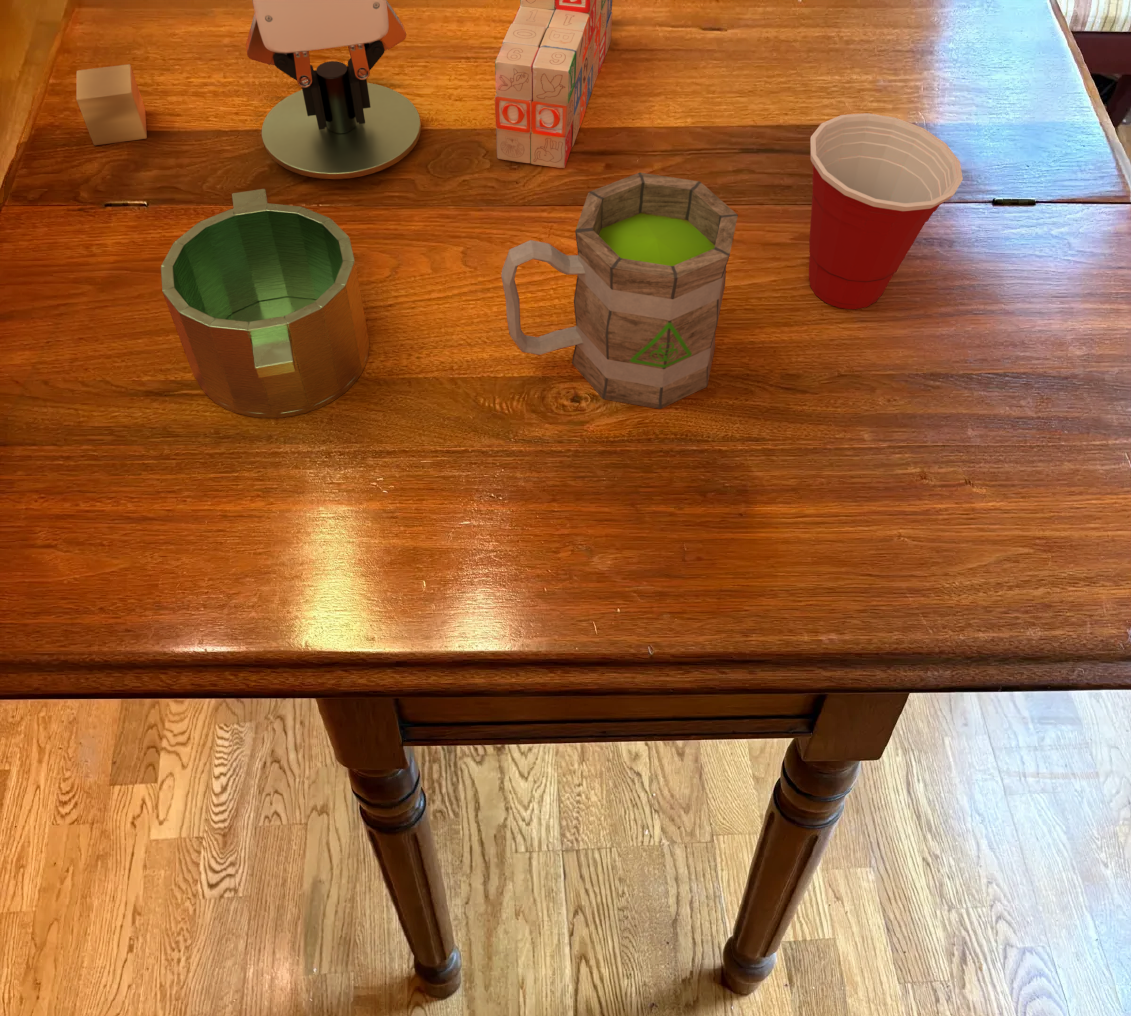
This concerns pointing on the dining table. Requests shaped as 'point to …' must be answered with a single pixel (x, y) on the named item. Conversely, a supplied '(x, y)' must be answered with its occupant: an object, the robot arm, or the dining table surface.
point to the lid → (341, 130)
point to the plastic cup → (871, 202)
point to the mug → (638, 288)
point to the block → (111, 104)
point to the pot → (267, 307)
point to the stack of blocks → (548, 77)
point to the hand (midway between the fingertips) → (339, 116)
